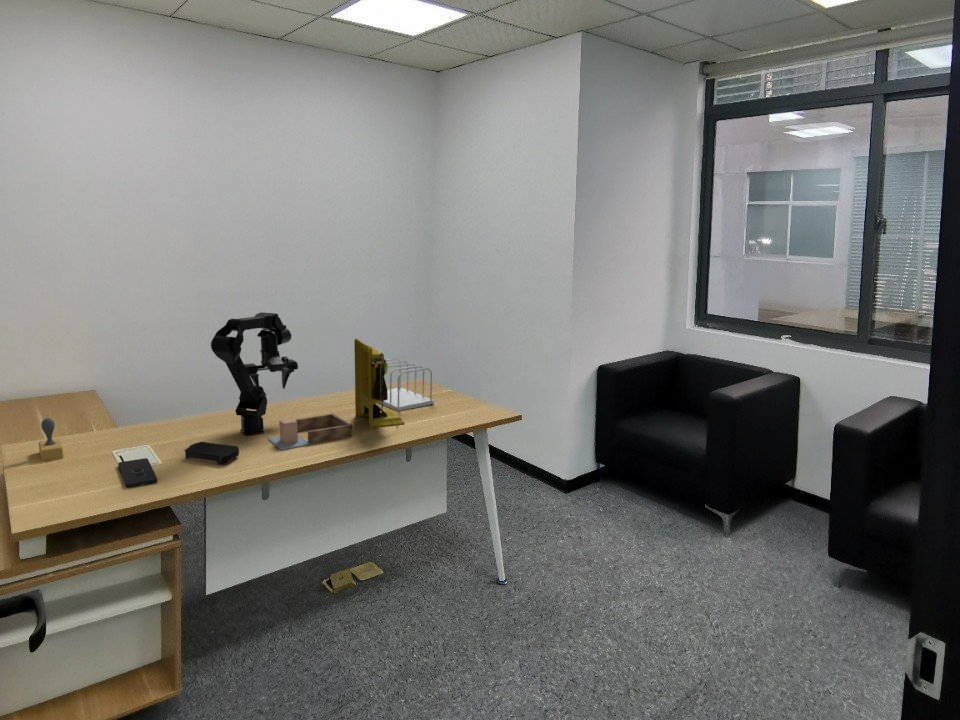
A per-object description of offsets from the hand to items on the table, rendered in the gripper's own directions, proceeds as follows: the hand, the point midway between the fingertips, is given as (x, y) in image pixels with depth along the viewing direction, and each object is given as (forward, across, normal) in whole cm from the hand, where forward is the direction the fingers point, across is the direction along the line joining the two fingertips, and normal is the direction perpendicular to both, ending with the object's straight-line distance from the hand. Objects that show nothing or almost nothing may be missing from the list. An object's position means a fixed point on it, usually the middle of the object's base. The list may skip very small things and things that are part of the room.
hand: (271, 390), depth 250 cm
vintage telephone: (+12, +34, -20) cm, 41 cm away
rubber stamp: (+12, -69, +1) cm, 70 cm away
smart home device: (+13, -50, -30) cm, 59 cm away
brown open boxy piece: (+12, +9, -22) cm, 27 cm away
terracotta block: (+12, -3, -25) cm, 28 cm away
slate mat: (+12, -3, -25) cm, 28 cm away
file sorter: (+12, +54, +2) cm, 55 cm away
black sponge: (+13, -28, -27) cm, 41 cm away
